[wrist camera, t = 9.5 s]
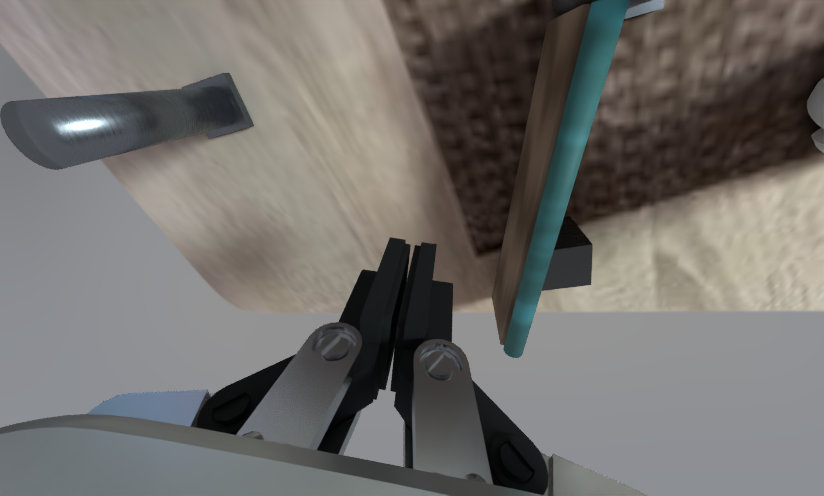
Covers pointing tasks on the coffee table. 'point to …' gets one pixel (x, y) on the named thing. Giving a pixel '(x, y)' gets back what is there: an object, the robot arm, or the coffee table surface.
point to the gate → (552, 154)
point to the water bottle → (817, 113)
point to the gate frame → (193, 114)
